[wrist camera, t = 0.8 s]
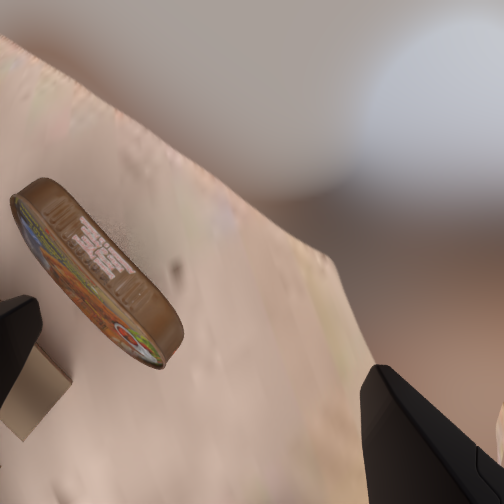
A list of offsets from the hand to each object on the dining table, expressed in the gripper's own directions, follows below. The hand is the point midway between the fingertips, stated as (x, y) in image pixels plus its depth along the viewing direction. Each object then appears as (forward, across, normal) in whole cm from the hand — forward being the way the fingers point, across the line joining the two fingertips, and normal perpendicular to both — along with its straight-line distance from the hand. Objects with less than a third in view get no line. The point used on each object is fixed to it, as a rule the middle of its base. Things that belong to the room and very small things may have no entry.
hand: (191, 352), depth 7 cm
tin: (+13, +11, +8) cm, 18 cm away
